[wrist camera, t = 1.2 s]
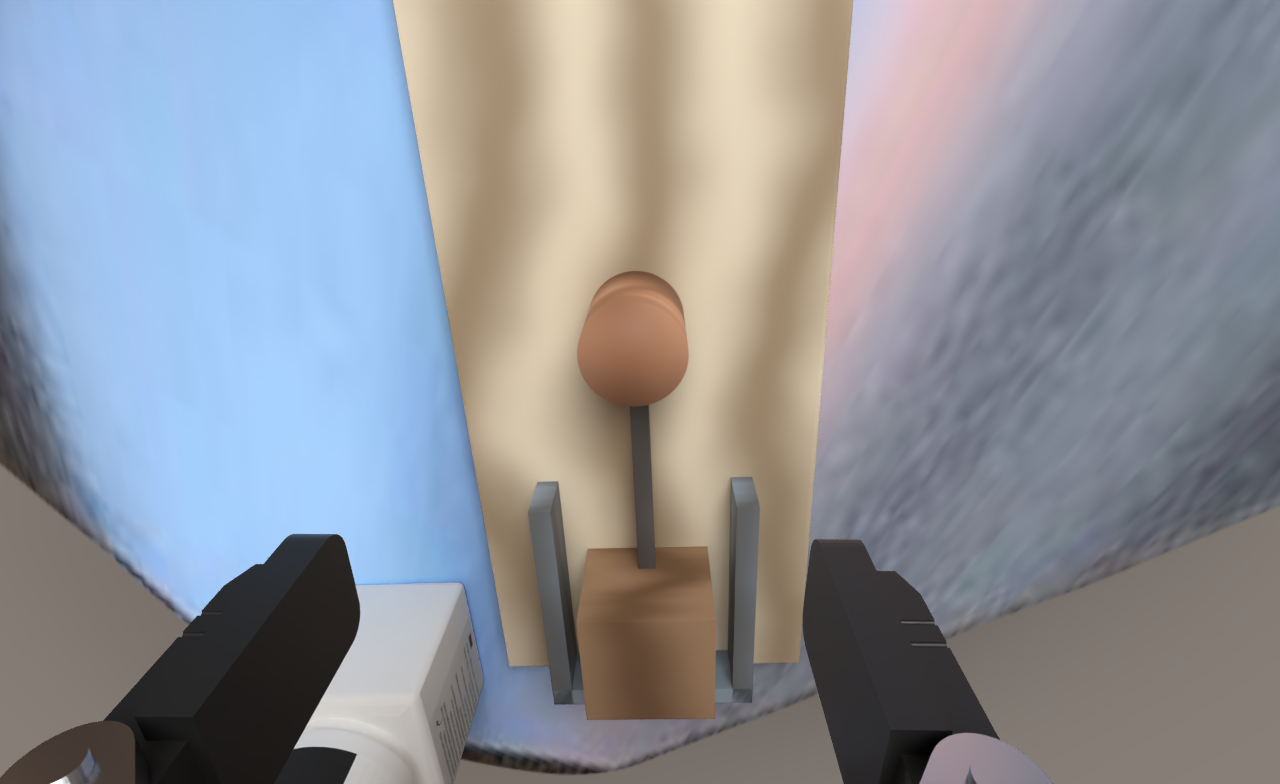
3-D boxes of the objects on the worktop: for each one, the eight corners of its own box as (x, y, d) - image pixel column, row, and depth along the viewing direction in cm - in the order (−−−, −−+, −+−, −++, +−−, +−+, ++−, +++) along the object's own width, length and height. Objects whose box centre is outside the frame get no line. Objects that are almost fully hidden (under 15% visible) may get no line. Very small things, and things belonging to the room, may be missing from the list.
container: (360, 682, 38) (227, 941, 26) (327, 582, 35) (160, 825, 23) (486, 680, 38) (409, 941, 26) (464, 578, 35) (365, 823, 23)
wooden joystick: (707, 268, 26) (718, 303, 21) (707, 636, 34) (715, 718, 30) (561, 273, 26) (541, 309, 22) (596, 638, 34) (586, 719, 30)
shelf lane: (854, -162, 21) (895, -217, 18) (793, 641, 36) (808, 701, 32) (384, -133, 22) (330, -180, 18) (515, 645, 37) (499, 704, 33)
